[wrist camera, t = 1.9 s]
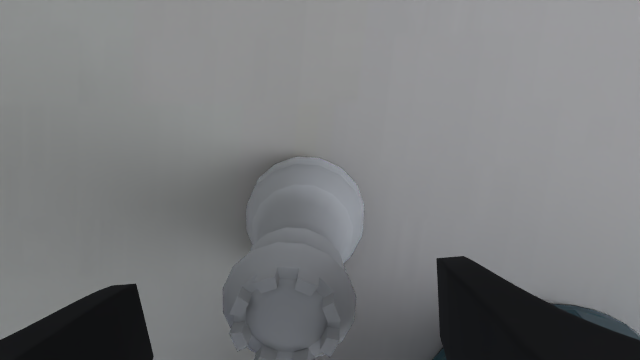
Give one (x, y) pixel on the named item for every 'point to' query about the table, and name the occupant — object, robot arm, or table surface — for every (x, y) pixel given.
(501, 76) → the table surface
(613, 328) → the pot
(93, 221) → the table surface
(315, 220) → the rook chess piece
